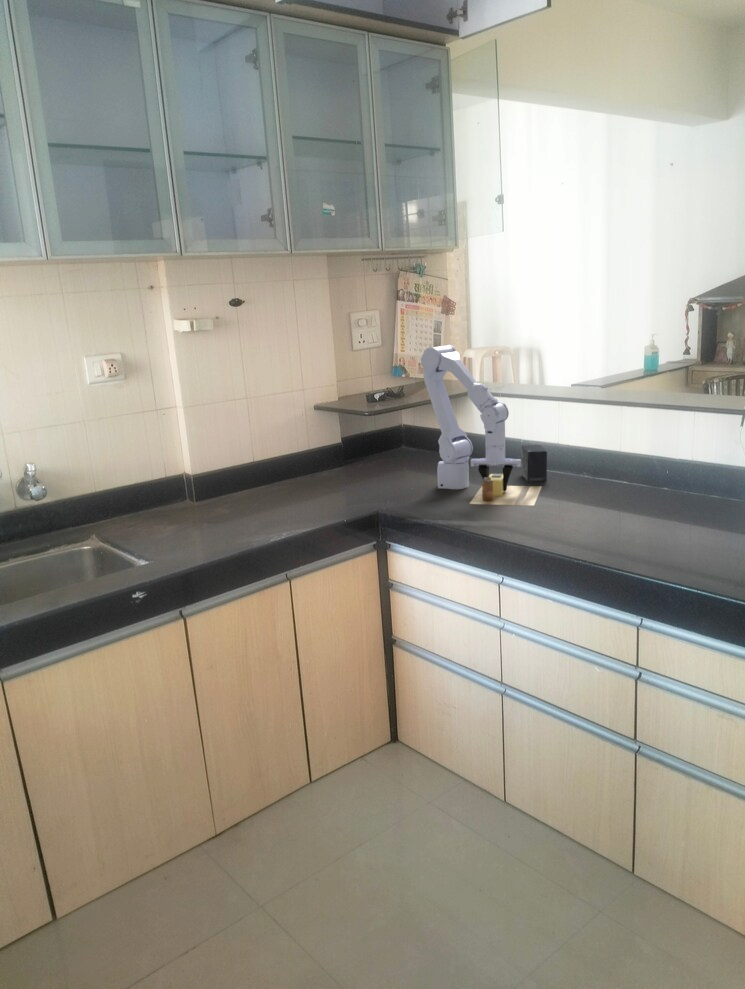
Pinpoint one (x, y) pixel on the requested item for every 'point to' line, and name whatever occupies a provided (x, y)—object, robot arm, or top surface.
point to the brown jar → (487, 489)
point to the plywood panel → (511, 496)
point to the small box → (534, 463)
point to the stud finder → (497, 484)
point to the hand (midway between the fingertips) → (496, 489)
